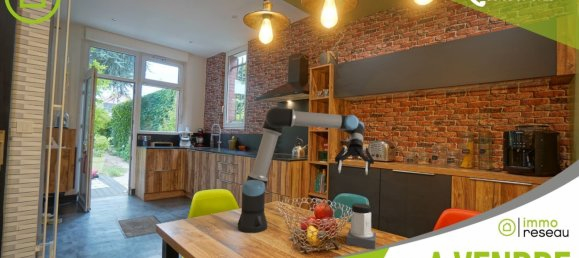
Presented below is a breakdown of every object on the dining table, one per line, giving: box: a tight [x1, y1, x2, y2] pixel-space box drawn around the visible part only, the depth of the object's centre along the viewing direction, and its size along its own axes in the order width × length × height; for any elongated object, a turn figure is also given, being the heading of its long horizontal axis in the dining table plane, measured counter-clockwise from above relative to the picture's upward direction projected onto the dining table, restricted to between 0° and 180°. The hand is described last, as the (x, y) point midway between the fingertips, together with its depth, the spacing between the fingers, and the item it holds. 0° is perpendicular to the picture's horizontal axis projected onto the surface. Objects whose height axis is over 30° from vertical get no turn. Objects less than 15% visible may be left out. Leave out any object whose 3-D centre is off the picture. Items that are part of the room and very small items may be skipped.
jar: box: [350, 202, 372, 235], centre depth 122 cm, size 9×8×12 cm
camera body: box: [345, 228, 377, 250], centre depth 122 cm, size 12×11×4 cm
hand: (352, 172), depth 138 cm, fingers open, 13 cm apart
